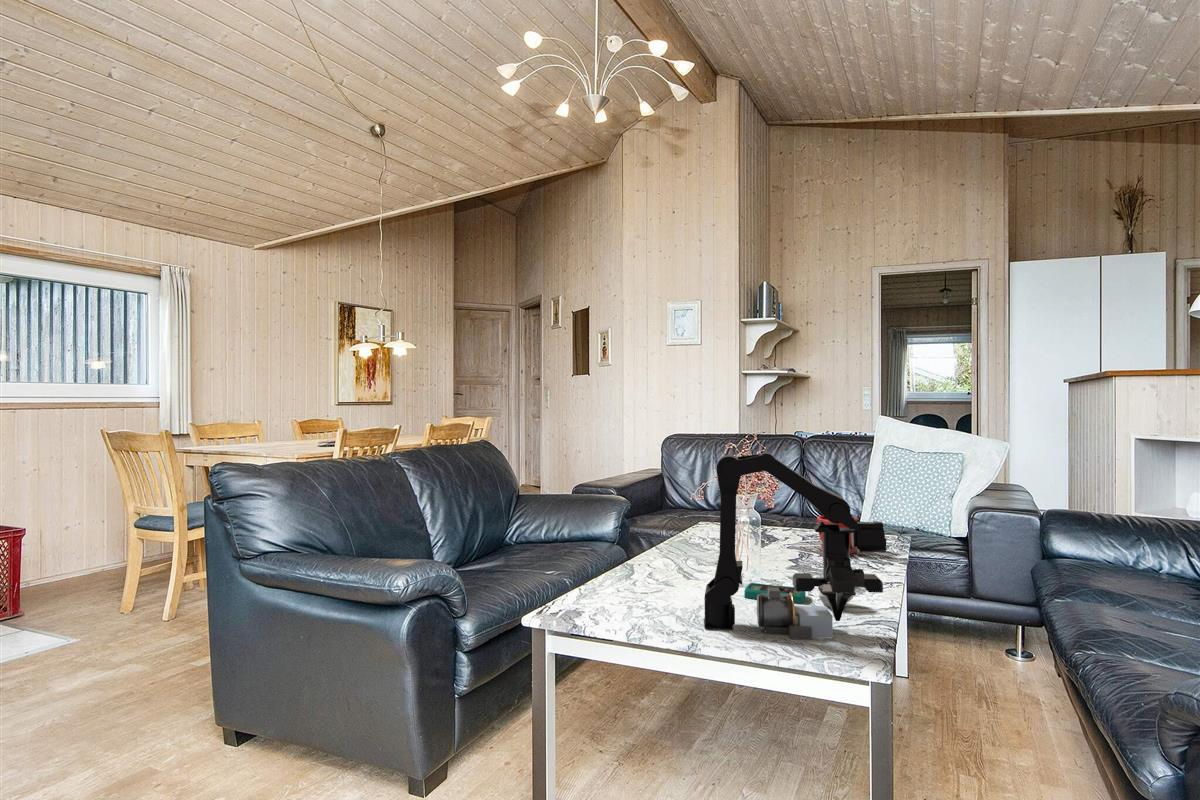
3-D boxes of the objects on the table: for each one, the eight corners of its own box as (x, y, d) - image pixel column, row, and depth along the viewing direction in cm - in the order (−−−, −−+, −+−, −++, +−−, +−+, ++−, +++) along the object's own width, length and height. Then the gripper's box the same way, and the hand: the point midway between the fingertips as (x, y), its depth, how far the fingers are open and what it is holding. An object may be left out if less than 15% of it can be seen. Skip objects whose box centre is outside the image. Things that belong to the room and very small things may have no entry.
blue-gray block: (795, 637, 155) (795, 615, 155) (789, 627, 162) (789, 605, 162) (832, 638, 154) (832, 615, 154) (825, 627, 161) (825, 606, 161)
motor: (760, 636, 156) (760, 594, 156) (756, 623, 164) (756, 583, 164) (795, 637, 155) (794, 595, 155) (789, 624, 163) (789, 584, 163)
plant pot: (848, 547, 245) (848, 513, 245) (864, 555, 232) (864, 519, 232) (811, 548, 244) (811, 513, 244) (826, 556, 231) (826, 520, 231)
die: (826, 601, 183) (807, 574, 181) (856, 588, 180) (838, 560, 178) (830, 622, 176) (811, 594, 174) (862, 608, 173) (843, 580, 171)
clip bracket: (790, 639, 154) (790, 627, 154) (783, 622, 164) (783, 612, 164) (811, 639, 153) (811, 628, 153) (803, 623, 164) (803, 612, 164)
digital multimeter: (803, 606, 179) (803, 594, 179) (743, 599, 185) (743, 588, 185) (806, 598, 186) (806, 586, 186) (748, 592, 192) (748, 581, 192)
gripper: (799, 559, 151) (800, 631, 151) (889, 560, 148) (890, 633, 148) (791, 548, 162) (792, 615, 162) (875, 548, 159) (876, 617, 160)
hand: (837, 620), depth 158 cm, fingers closed
